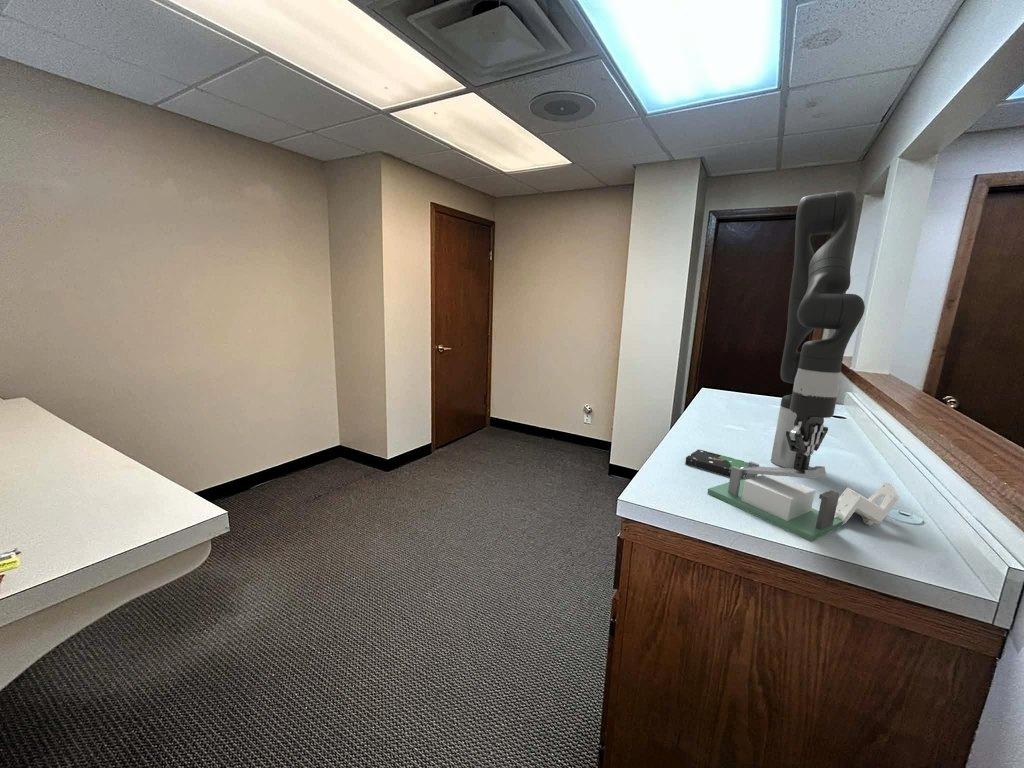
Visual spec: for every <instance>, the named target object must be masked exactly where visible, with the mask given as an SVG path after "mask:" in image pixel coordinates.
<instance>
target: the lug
mask: <svg viewBox="0 0 1024 768" xmlns="http://www.w3.org/2000/svg"><path fill="white" fill-rule="evenodd" d="M839 497H840V492H839V491H836V490H833V489H829V490H828V491H825V492H823V493H820V494H819V496H818V499H820V504H819V509H818V511H819V513H818V518H817V523H816V528H817V529H819V530H823V529H825V528H827V527H829V526H831V525H833V521H834V516H835V514H836V513H835V512H836V507H837V503H838V498H839Z"/></svg>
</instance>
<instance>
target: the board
mask: <svg viewBox="0 0 1024 768" xmlns="http://www.w3.org/2000/svg"><path fill="white" fill-rule="evenodd" d="M748 463H749V464H748V465H752V466H760V463H756V462H754V461H748ZM741 475H742V469H741V468H738V467H735V466H733V467H732V469H731V475H730V477H729V482H726V483H721V484H719V485H714V486H712V487H709V488H708V489H707V494H709V495H710V496H713V497H715V498H717V499H719V500H721V501H723V502H726V503H728V504H730V505H732V506H734V507H737V508H739V509H741V510H743V511H745V512H747V513H749V514H752V515H754V516H756V517H759V518H761V519H762V520H764V521H767V522H769V523H771V524H773V525H776V526H777V527H780V528H782V529H784V530H786V531H788V532H790V533H792V534H794V535H797V536H799V537H800V538H801V537H802V538H804V539H806V540H808V541H810V542H813V541H815V540H817V539H819V538H821V537H823V536H825V535H827V534H829V533H832V532H833V531H835V530H837V529H839V528H841V527H843V525H844V524H843V521H842V520H840V519H838V518H835V517H834V521H833V525H831V526H829V527H827V528H825V529H823V530H819V529H817V528H816V523H817V518H818V513H819V509H815V508H812V507H813V503H814V499H815V494H816V489H814V488H812V487H808V486H806V485H802V484H800V483H797V482H795V481H792V480H790V479H787V478H784V477H783V476H775V475H762V474H760V475H759V474H748V473H747V474H746V475H745V477H746V479H745V480H744V479H741Z"/></svg>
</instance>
